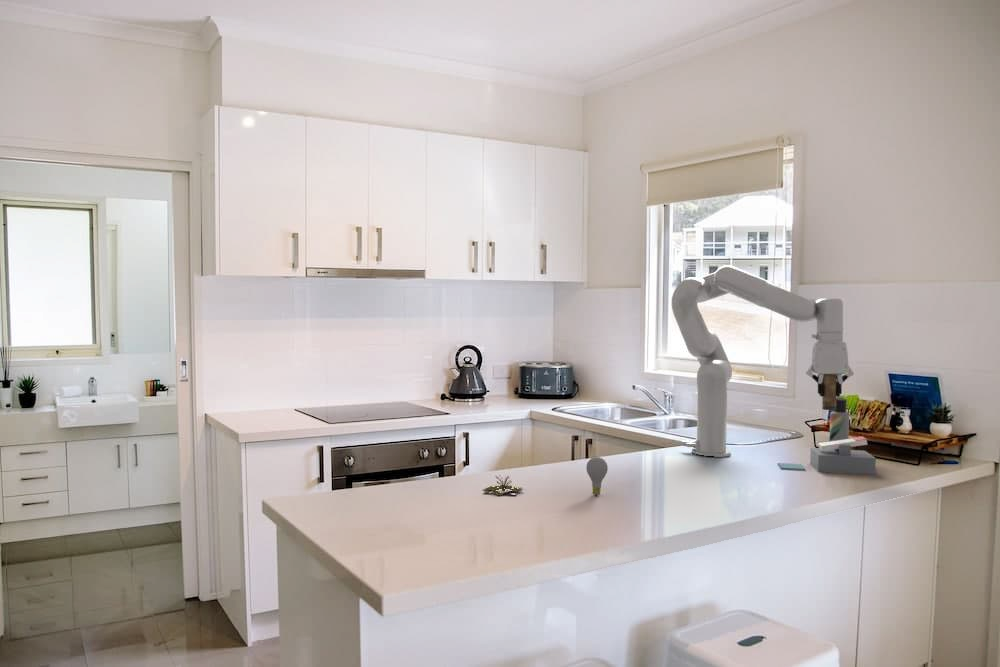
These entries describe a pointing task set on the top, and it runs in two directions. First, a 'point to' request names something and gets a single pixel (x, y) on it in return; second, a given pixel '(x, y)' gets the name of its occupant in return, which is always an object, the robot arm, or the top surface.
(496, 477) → the flowering plant
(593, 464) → the light bulb
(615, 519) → the top surface
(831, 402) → the brown wooden block
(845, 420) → the lotion bottle
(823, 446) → the breaker rocker
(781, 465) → the mat
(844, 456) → the box
